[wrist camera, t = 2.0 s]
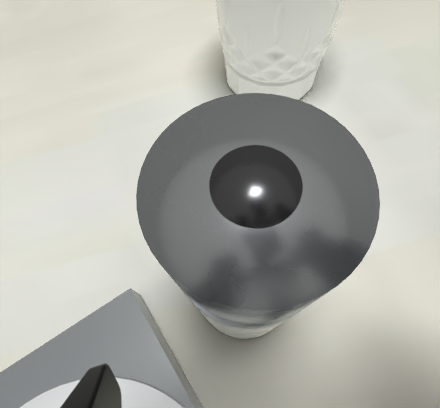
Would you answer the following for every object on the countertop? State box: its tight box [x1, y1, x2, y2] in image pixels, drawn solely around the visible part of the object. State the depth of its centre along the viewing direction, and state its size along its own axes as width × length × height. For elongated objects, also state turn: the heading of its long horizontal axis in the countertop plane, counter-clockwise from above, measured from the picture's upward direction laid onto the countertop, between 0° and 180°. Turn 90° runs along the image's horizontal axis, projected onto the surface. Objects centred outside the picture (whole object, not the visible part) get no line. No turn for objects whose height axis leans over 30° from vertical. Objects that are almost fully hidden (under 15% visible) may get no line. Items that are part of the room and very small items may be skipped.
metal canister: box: [136, 93, 380, 339], centre depth 13 cm, size 5×5×13 cm
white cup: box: [216, 0, 345, 100], centre depth 21 cm, size 8×8×10 cm
